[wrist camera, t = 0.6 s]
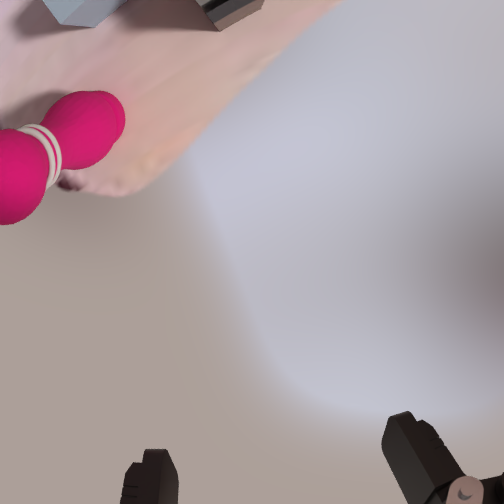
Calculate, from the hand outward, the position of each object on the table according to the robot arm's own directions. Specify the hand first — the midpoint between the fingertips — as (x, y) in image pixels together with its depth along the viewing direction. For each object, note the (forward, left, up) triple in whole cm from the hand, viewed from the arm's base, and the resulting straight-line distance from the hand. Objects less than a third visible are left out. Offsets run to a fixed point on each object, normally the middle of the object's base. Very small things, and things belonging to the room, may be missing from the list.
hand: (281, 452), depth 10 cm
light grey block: (-24, -2, -27) cm, 36 cm away
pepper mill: (-14, -10, -27) cm, 32 cm away
